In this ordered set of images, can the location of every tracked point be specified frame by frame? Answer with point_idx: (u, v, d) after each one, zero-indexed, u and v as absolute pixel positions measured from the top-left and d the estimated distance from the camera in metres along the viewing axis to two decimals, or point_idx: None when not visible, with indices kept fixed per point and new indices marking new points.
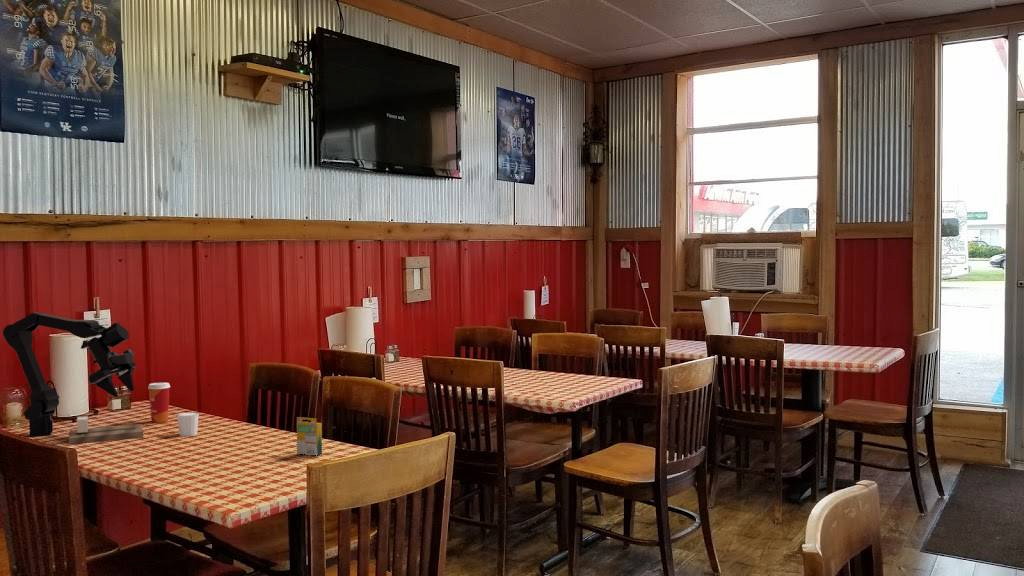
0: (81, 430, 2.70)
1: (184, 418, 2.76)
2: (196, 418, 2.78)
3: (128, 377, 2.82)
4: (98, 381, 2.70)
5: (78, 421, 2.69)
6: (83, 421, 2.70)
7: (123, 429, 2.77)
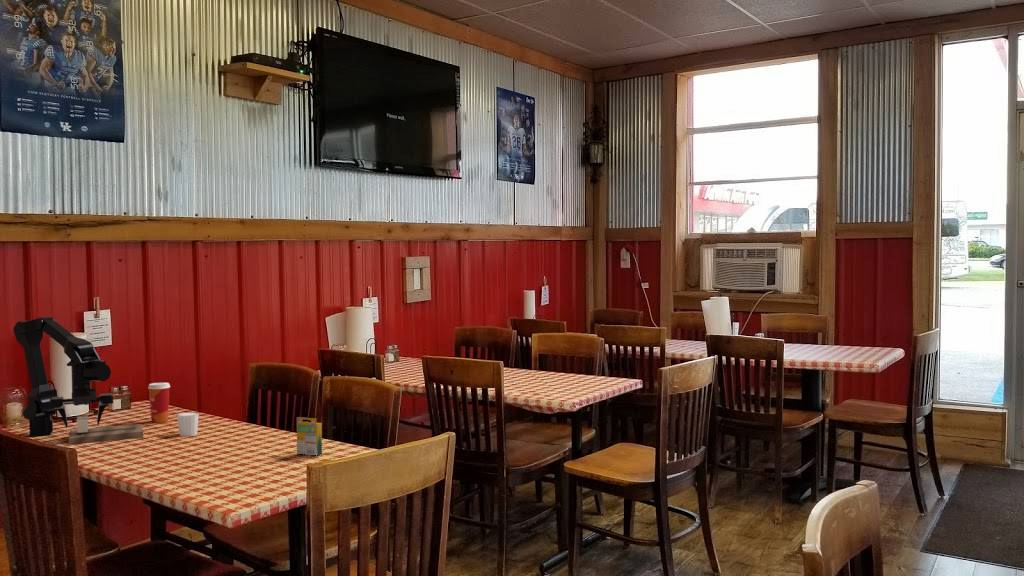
0: (81, 430, 2.70)
1: (184, 418, 2.76)
2: (196, 418, 2.78)
3: (98, 410, 2.74)
4: None
5: (78, 421, 2.69)
6: (83, 421, 2.70)
7: (123, 429, 2.77)
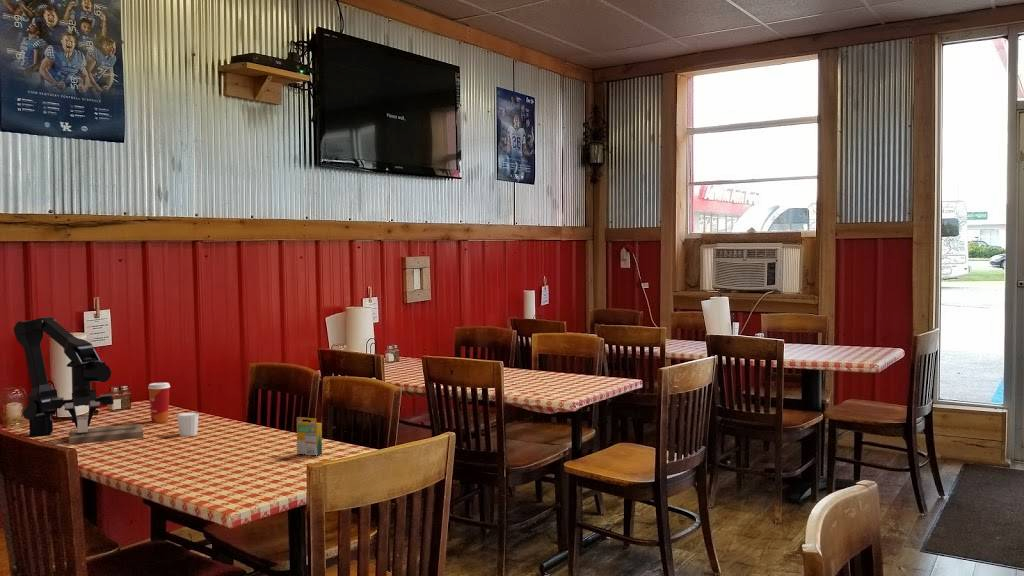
0: (81, 430, 2.70)
1: (184, 418, 2.76)
2: (196, 418, 2.78)
3: None
4: None
5: (78, 421, 2.69)
6: (83, 421, 2.70)
7: (123, 429, 2.77)
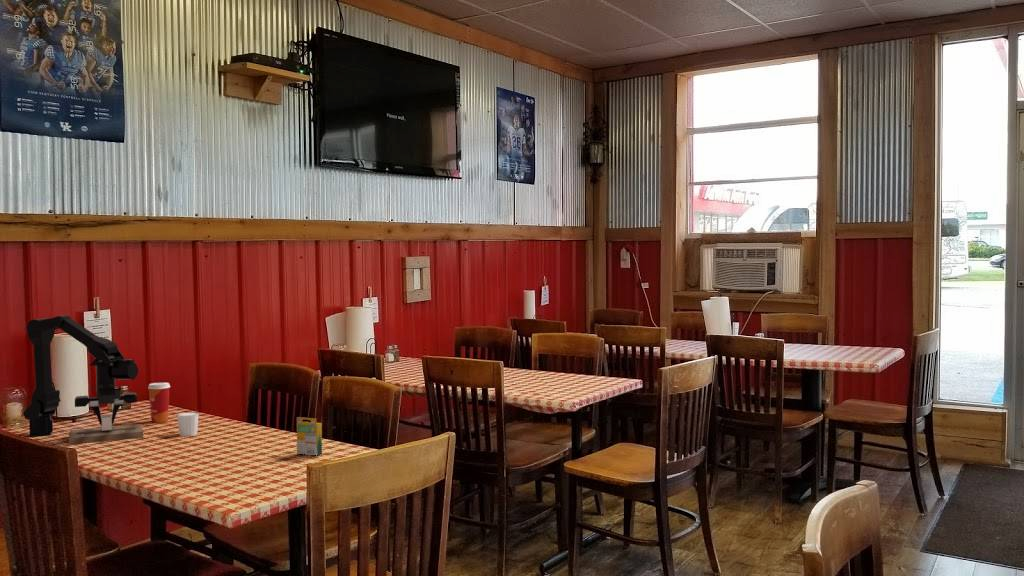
0: (105, 428, 2.73)
1: (184, 418, 2.76)
2: (196, 418, 2.78)
3: None
4: (89, 405, 2.74)
5: (102, 419, 2.72)
6: (107, 419, 2.73)
7: (123, 429, 2.77)
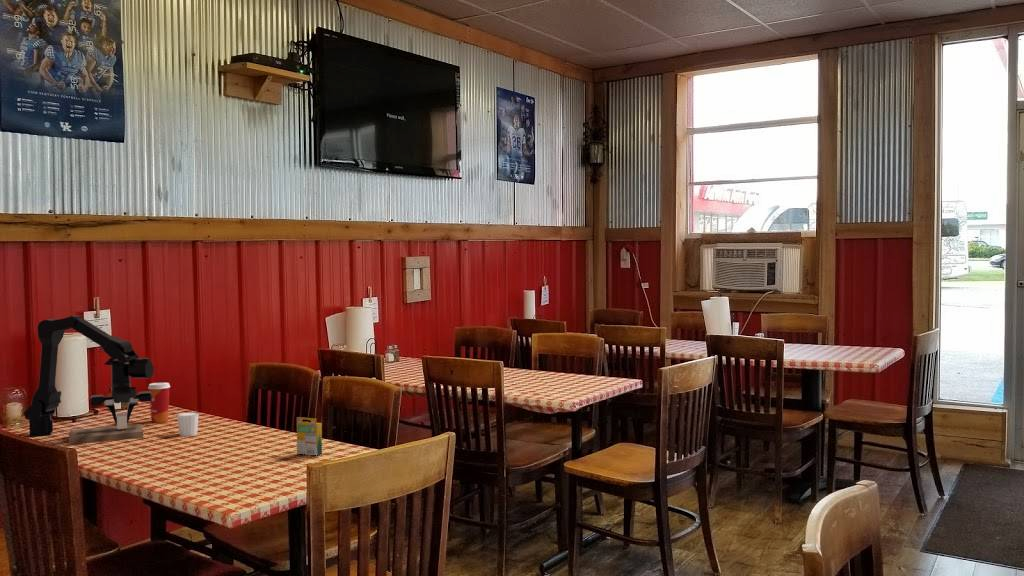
0: (121, 426, 2.75)
1: (184, 418, 2.76)
2: (196, 418, 2.78)
3: (127, 409, 2.78)
4: (104, 404, 2.76)
5: (118, 418, 2.74)
6: (122, 418, 2.75)
7: (123, 429, 2.77)
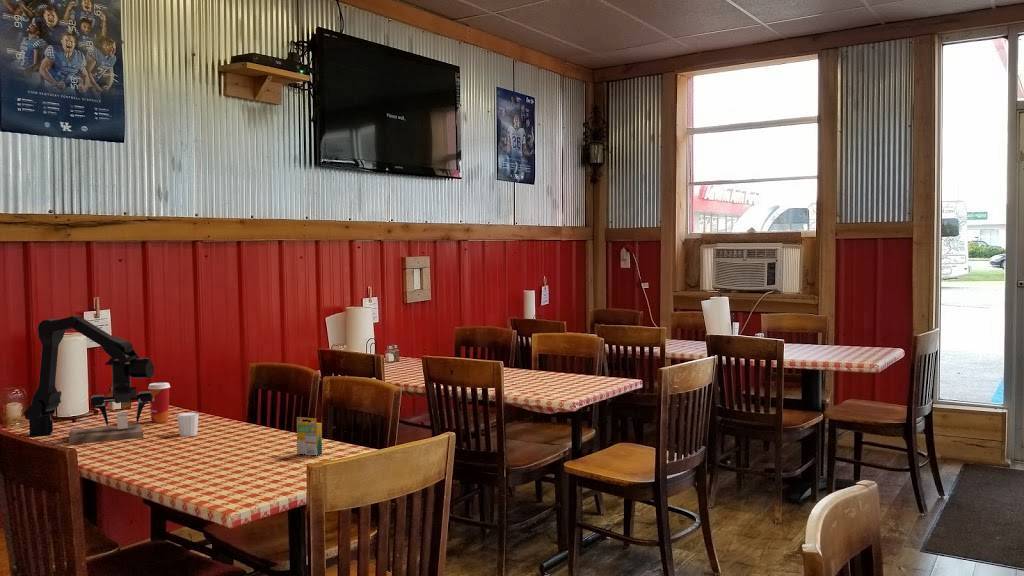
0: (121, 426, 2.75)
1: (184, 418, 2.76)
2: (196, 418, 2.78)
3: (137, 408, 2.79)
4: None
5: (118, 418, 2.75)
6: (123, 418, 2.75)
7: (123, 429, 2.77)
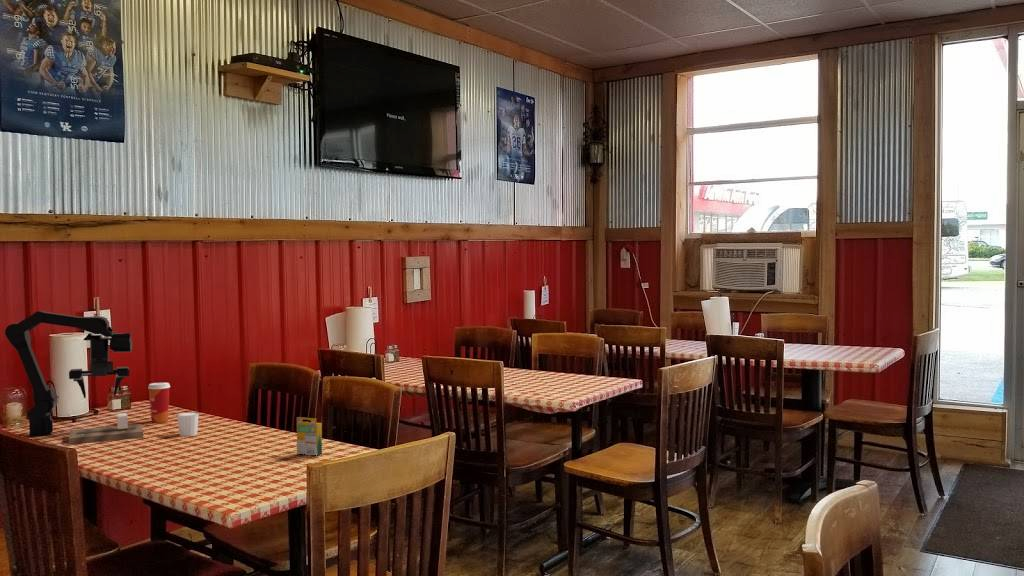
0: (121, 426, 2.75)
1: (184, 418, 2.76)
2: (196, 418, 2.78)
3: (115, 383, 2.86)
4: None
5: (118, 418, 2.75)
6: (123, 418, 2.75)
7: (123, 429, 2.77)
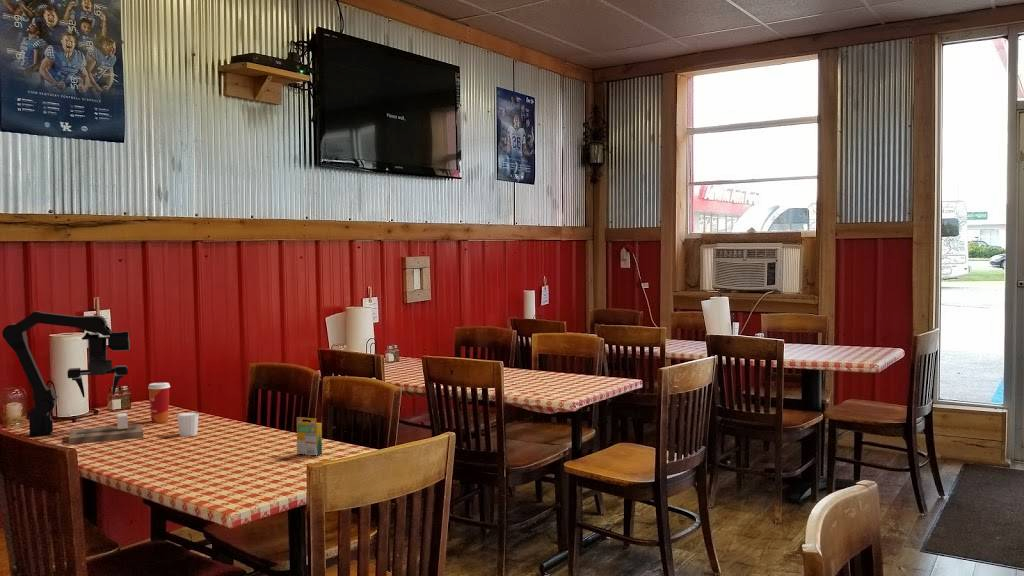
0: (121, 426, 2.75)
1: (184, 418, 2.76)
2: (196, 418, 2.78)
3: (113, 381, 2.87)
4: None
5: (118, 418, 2.75)
6: (123, 418, 2.75)
7: (123, 429, 2.77)
